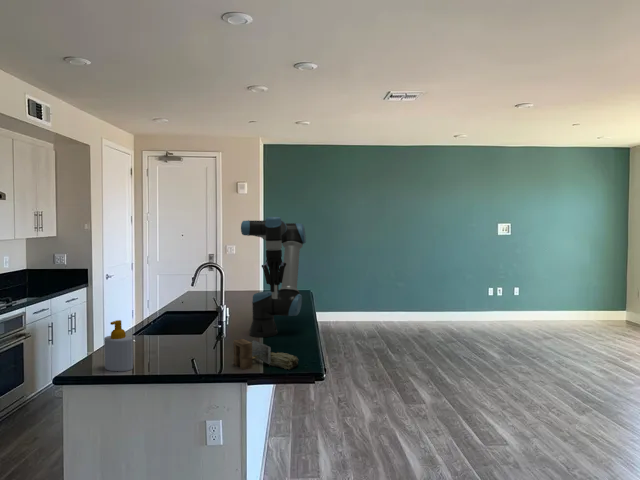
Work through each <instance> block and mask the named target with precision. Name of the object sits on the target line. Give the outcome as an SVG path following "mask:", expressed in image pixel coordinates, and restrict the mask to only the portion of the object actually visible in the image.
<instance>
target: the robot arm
mask: <svg viewBox="0 0 640 480" xmlns="http://www.w3.org/2000/svg"><path fill="white" fill-rule="evenodd" d="M240 232H241V234H242V236H247V237H249V236H254V237H258V238H261V239H263V240H264V241H265V249H266V250H265V258H266V260H265V263H264V264H261V268H262V270H263V273H264V278H265V283H266V284H267V285H269V287H270V288H269V289H270V290H264V291H259V292H256V293H254V294H253V295H252V301H251V302H252V303H251V304H252V321H251V324H250V328H249V336H251V337H254V338H270V337H273V336H276V335H277V334H278V327H277V324H276V322H275V316H279V317H280V316H281V317H282V316H283V317H284V316H285V317H291V316H293V317H294V316H298V315H299V314H300V311H301V310H302V303H303V296H302V294H300V290H299V289H298V278H299V277H298V276H299V264H300V251H301V249H302V248H303V245H305V244H306V242H307V237H306V236H307V235H306V231H305V226H304V224H303V223H301V222H300V223H299V222H298V223H297V222H294V223H293V222H292V223H290V222H289V223H288V222H286V221H283V220H282V217H280V216H268V217H266V218H265V220H249V219H248V220H242V222H241V223H240ZM282 247H283V248H284V255H283V250H282V249H283V248H282ZM282 257H283V259H282ZM280 285H281V287H280V288H279V286H280Z"/></svg>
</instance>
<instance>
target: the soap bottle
mask: <svg viewBox="0 0 640 480" xmlns="http://www.w3.org/2000/svg"><path fill="white" fill-rule="evenodd" d="M109 323H110V325H112V326H113V325H114V329H113V330H112V331H110V335H107V336H105V337H104V343H103V344H104V369H105V370H107V371H110V372H117V371H118V372H129V371H132V370H133V369H134V351H133V349H134V348H133V342H134V341H133V337H132V336H129V335H127V334H126V331H125V330H124V329H122V320H121V319H117V320H114V321H111V322H109Z"/></svg>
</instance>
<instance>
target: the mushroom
mask: <svg viewBox="0 0 640 480" xmlns="http://www.w3.org/2000/svg"><path fill="white" fill-rule="evenodd" d="M268 365H269V366H268V367H269V368H270V366H272V367H277V368H280V369H283V368H284V370H287V369H288V370H289V371H290V370H292V369H294V368H296V367H297V366H298V365H299V358H298V357H297V356H296V355H293V354H289V353H286V352H285V353H284V352H279V351H277V352H273V351H271V363H270V364H268Z"/></svg>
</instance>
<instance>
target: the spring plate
mask: <svg viewBox="0 0 640 480" xmlns="http://www.w3.org/2000/svg"><path fill="white" fill-rule="evenodd" d="M251 343H252V357H255V359H257V360H259V361H262V362H264V363H266V364H268V365H270V363H271V353H272V349H271V346H268V345H267V344H265V343H263V342H259V341H257V340H252V341H251ZM239 358H240V354H239Z"/></svg>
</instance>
